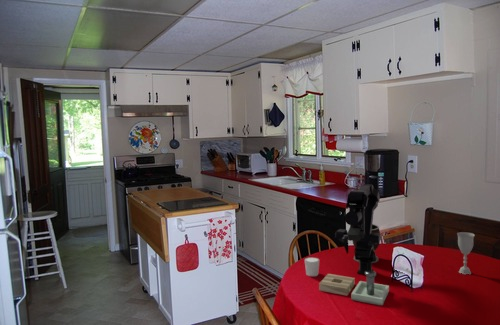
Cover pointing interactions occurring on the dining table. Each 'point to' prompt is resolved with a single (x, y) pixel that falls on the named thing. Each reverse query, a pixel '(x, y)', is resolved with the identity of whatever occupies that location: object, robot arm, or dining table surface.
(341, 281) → the hole block
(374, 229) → the mate gourd
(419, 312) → the dining table surface
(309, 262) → the cup
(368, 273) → the pin
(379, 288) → the tray
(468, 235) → the chalice
